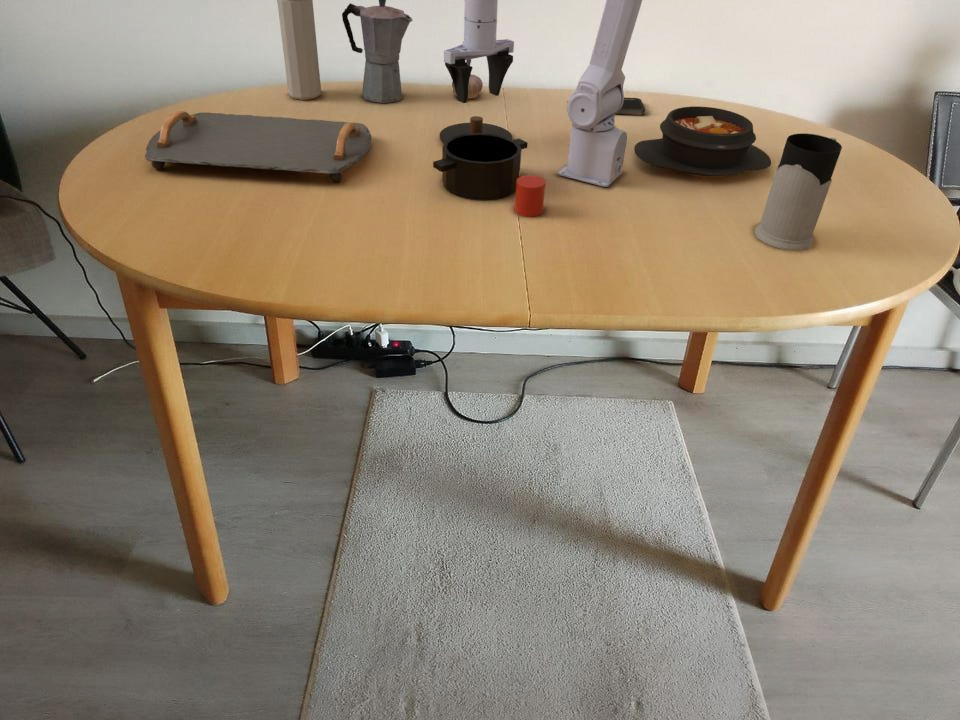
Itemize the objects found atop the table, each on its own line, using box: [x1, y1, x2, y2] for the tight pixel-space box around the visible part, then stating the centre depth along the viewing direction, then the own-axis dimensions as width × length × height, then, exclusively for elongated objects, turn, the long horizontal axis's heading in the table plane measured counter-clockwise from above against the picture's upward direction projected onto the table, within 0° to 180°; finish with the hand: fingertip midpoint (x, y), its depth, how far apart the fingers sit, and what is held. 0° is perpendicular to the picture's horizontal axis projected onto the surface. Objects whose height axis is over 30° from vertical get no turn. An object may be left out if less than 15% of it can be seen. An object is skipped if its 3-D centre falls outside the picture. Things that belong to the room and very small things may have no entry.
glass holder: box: [754, 132, 843, 251], centre depth 110 cm, size 9×14×15 cm, turn 137°
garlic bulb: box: [451, 59, 484, 99], centre depth 158 cm, size 8×7×8 cm
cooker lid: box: [439, 115, 513, 144], centre depth 139 cm, size 14×14×4 cm
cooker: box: [432, 133, 529, 201], centre depth 123 cm, size 13×18×6 cm
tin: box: [514, 174, 546, 218], centre depth 116 cm, size 5×5×5 cm
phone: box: [615, 96, 646, 116], centre depth 157 cm, size 8×1×15 cm
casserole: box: [633, 105, 772, 177], centre depth 132 cm, size 25×19×8 cm
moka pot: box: [341, 0, 413, 104], centre depth 152 cm, size 10×15×20 cm, turn 78°
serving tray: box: [144, 110, 373, 184], centre depth 129 cm, size 39×23×6 cm, turn 85°
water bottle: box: [276, 0, 322, 101], centre depth 150 cm, size 9×8×25 cm
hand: (478, 97), depth 135 cm, fingers open, 7 cm apart
